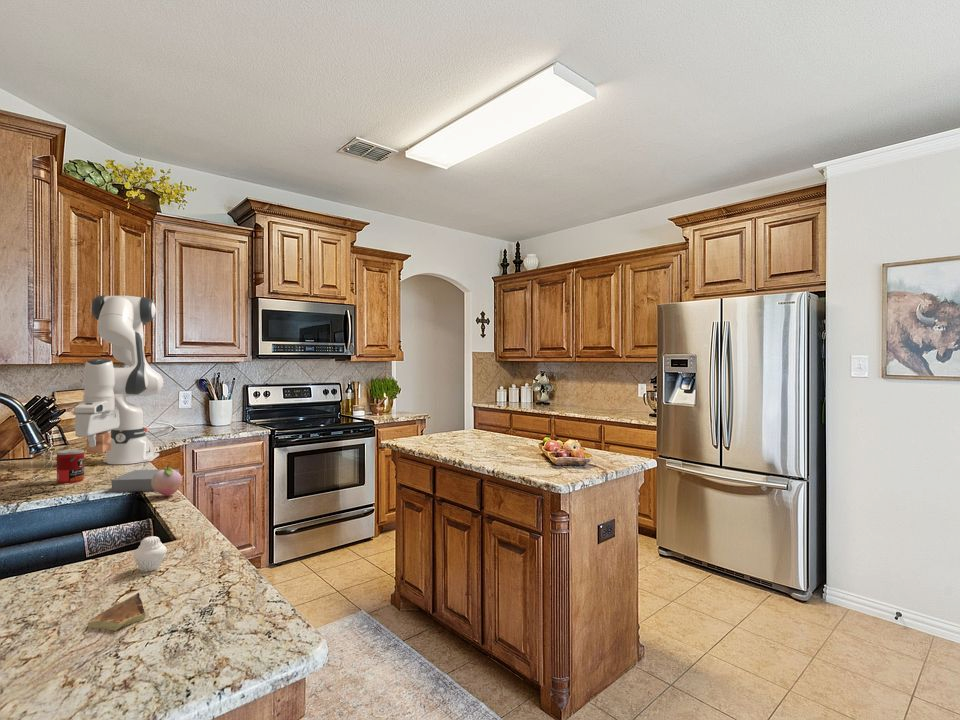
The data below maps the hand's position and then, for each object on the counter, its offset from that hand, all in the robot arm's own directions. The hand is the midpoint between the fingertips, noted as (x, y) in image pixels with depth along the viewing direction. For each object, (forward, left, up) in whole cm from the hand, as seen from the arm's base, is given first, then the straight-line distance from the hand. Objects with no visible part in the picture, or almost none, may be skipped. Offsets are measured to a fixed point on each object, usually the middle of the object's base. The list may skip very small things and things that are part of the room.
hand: (98, 445), depth 178 cm
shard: (+98, +55, -15) cm, 114 cm away
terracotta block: (0, 0, -2) cm, 2 cm away
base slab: (+1, +16, -14) cm, 22 cm away
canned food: (-9, -14, -15) cm, 22 cm away
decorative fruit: (+17, +29, -15) cm, 37 cm away
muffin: (+77, +51, -15) cm, 94 cm away
